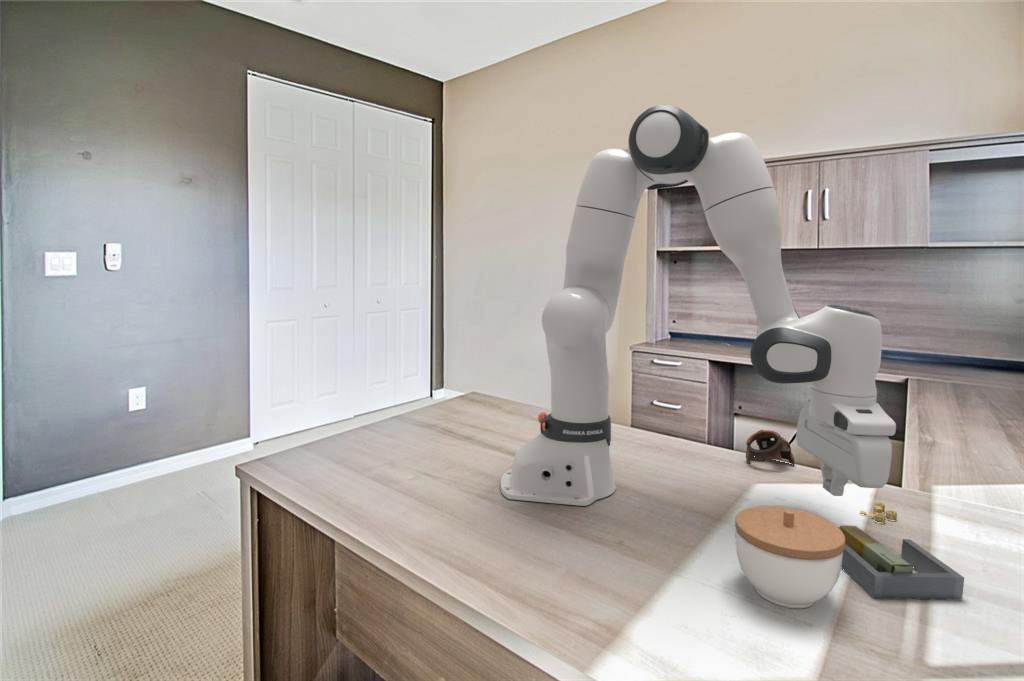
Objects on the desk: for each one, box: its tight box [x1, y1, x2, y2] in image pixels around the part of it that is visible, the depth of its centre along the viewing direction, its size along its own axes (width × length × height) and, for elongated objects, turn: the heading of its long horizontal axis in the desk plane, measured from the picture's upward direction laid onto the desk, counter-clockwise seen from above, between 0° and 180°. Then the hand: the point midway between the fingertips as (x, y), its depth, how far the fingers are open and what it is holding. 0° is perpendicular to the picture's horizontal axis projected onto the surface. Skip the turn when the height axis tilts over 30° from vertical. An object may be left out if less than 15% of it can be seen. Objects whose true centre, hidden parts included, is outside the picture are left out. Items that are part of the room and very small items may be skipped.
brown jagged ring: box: [745, 429, 796, 466], centre depth 119 cm, size 12×10×8 cm
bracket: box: [841, 538, 965, 600], centre depth 74 cm, size 11×10×3 cm
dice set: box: [859, 501, 898, 523], centre depth 93 cm, size 5×5×2 cm
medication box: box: [838, 525, 914, 573], centre depth 76 cm, size 12×3×4 cm, turn 1°
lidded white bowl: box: [734, 505, 845, 609], centre depth 70 cm, size 13×13×11 cm
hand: (832, 492), depth 87 cm, fingers closed
